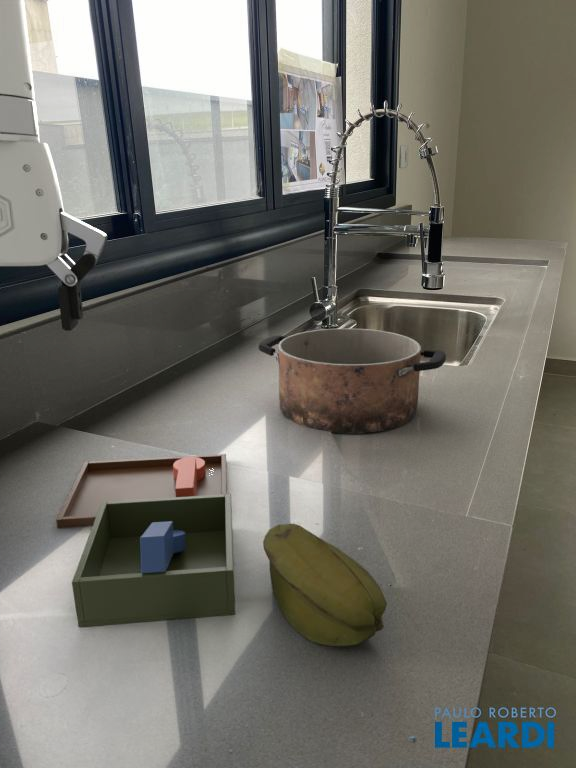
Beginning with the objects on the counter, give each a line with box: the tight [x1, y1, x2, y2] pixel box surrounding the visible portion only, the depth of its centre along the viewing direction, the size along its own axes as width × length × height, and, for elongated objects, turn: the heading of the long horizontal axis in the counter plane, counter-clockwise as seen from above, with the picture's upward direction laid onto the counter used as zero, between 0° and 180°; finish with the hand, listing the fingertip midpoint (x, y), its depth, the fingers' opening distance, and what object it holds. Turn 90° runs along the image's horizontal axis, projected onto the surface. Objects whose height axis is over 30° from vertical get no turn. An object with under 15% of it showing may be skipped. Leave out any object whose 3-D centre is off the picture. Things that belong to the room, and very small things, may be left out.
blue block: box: [140, 521, 186, 574], centre depth 56 cm, size 4×11×3 cm, turn 6°
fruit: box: [262, 523, 388, 647], centre depth 51 cm, size 11×12×7 cm
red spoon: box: [173, 457, 206, 497], centre depth 72 cm, size 4×11×3 cm, turn 6°
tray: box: [55, 453, 228, 529], centre depth 72 cm, size 18×14×1 cm
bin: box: [71, 493, 236, 628], centre depth 57 cm, size 13×13×4 cm
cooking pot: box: [258, 327, 447, 435], centre depth 97 cm, size 30×22×11 cm
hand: (16, 327), depth 55 cm, fingers open, 9 cm apart
